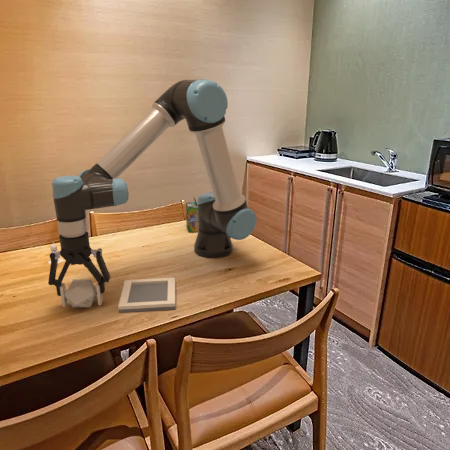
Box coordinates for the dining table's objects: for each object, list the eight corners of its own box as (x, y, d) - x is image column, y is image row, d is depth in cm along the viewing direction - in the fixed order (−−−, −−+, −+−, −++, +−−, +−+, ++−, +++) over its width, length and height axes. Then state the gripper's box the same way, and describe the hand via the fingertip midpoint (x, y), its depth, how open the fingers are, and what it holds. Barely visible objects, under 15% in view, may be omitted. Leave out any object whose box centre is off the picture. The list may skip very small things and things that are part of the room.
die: (80, 318, 110) (98, 289, 110) (54, 302, 110) (72, 273, 110) (90, 312, 118) (107, 285, 118) (65, 297, 118) (82, 270, 118)
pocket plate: (175, 283, 128) (175, 277, 127) (175, 309, 113) (175, 303, 112) (125, 285, 126) (124, 280, 125) (118, 312, 111) (118, 306, 111)
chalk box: (209, 231, 173) (208, 199, 168) (188, 233, 171) (187, 200, 166) (205, 224, 181) (205, 193, 176) (186, 225, 180) (185, 194, 175)
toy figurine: (62, 257, 147) (59, 238, 144) (66, 265, 140) (63, 246, 138) (46, 260, 144) (43, 241, 142) (50, 268, 138) (47, 249, 135)
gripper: (116, 226, 112) (122, 295, 120) (36, 229, 110) (47, 299, 117) (112, 236, 105) (119, 308, 113) (26, 239, 103) (39, 312, 110)
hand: (83, 303), depth 115 cm, fingers open, 9 cm apart
